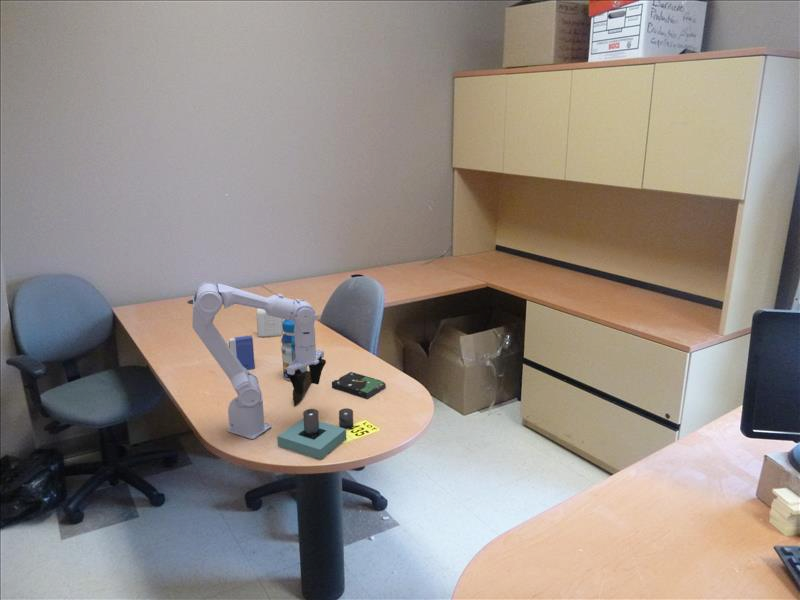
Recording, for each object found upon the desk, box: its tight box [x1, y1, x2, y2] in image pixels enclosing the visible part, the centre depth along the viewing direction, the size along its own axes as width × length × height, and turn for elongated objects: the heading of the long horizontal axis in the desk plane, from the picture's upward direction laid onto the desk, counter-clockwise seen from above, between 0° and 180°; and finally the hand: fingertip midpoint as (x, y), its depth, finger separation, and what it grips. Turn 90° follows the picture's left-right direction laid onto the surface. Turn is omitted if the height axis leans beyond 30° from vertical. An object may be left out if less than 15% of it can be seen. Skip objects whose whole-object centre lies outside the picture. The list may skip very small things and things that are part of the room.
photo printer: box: [256, 308, 284, 338], centre depth 237 cm, size 10×4×12 cm, turn 102°
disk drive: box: [331, 371, 387, 400], centre depth 192 cm, size 10×3×15 cm
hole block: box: [276, 417, 347, 461], centre depth 159 cm, size 14×12×3 cm
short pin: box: [338, 408, 354, 430], centre depth 167 cm, size 4×4×4 cm
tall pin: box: [302, 408, 320, 440], centre depth 158 cm, size 4×4×9 cm
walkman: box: [228, 334, 256, 371], centre depth 204 cm, size 8×3×12 cm, turn 114°
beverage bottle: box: [280, 319, 308, 381], centre depth 197 cm, size 8×8×20 cm
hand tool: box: [292, 370, 312, 407], centre depth 188 cm, size 19×4×5 cm, turn 173°
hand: (307, 388), depth 168 cm, fingers open, 7 cm apart
